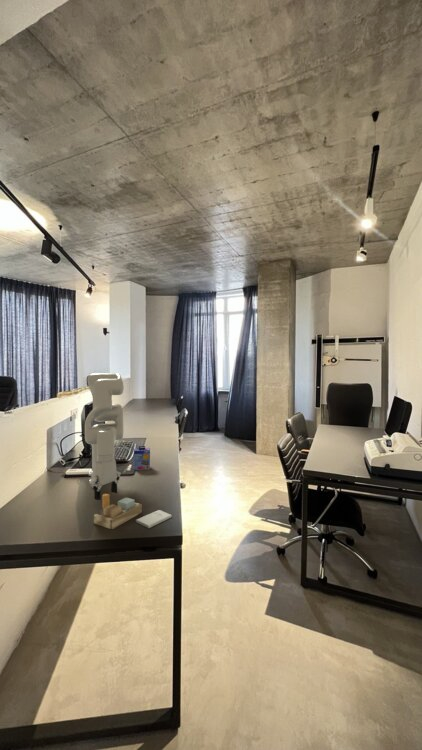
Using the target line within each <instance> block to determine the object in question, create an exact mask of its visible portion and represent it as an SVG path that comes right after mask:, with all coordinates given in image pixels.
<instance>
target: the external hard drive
mask: <svg viewBox="0 0 422 750" xmlns="http://www.w3.org/2000/svg"><path fill="white" fill-rule="evenodd" d="M171 518H172V514H171V513H170V514H169V513H168V512H165V511H163V510H161V509H158V510H156V511H153V512H151V513H149V514H146V515H144V516H142V517H141V516H140V517H139V518H137V519H135V522H136V524H139V525H141V526H143V527H146V528H147V529H150V528H152V527H154V526H156V525H159V524H161V523H163V522H165V521H167V520H169V519H171Z"/></svg>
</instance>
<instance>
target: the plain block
mask: <svg viewBox="0 0 422 750" xmlns="http://www.w3.org/2000/svg"><path fill="white" fill-rule="evenodd" d="M102 510H103V515H102V516H105V517H108V518H112V519H113V518H115V517H117V516H118V515H120V514H121V506H118V504H117V505H116V504H114V503H112V504H110V506H108V507H106V508H104V509H103V508H102Z"/></svg>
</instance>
